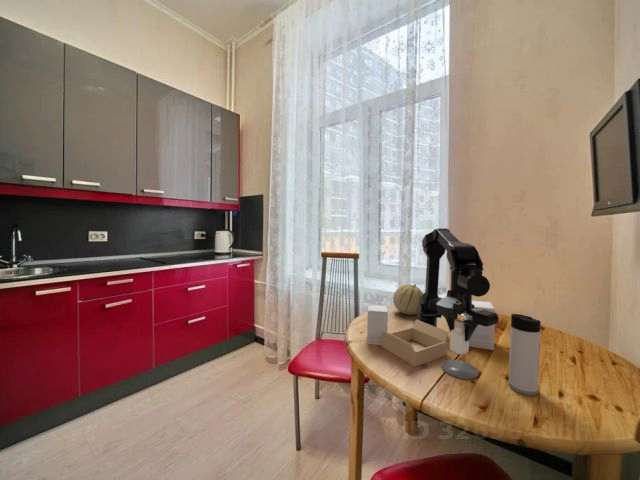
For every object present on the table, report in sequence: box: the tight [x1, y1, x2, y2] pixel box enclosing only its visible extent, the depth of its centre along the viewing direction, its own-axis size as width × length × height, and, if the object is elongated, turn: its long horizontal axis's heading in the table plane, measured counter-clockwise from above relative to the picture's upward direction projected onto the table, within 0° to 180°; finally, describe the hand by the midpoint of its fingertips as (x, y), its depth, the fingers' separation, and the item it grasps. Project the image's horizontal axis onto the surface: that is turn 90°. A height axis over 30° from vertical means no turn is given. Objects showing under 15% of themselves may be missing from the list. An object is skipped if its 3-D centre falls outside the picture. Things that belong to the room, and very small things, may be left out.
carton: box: [380, 319, 450, 367], centre depth 93 cm, size 19×15×7 cm
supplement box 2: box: [463, 300, 496, 351], centre depth 99 cm, size 9×9×15 cm
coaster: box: [440, 359, 479, 380], centre depth 81 cm, size 10×10×1 cm
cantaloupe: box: [392, 283, 424, 316], centre depth 132 cm, size 15×15×15 cm
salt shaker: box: [449, 318, 470, 355], centre depth 81 cm, size 4×4×10 cm
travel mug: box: [508, 313, 541, 397], centre depth 71 cm, size 6×7×20 cm
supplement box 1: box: [366, 305, 389, 346], centre depth 101 cm, size 7×7×13 cm
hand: (459, 338), depth 81 cm, fingers closed on salt shaker, 4 cm apart
